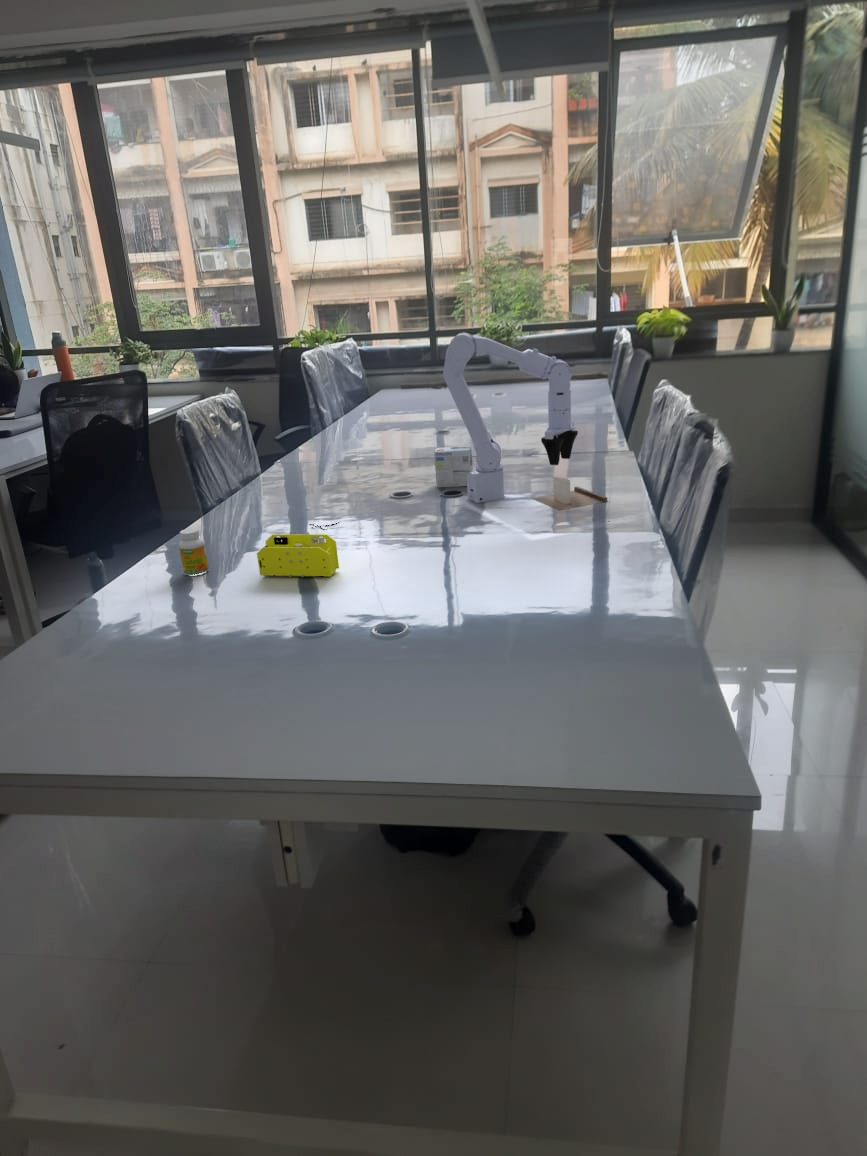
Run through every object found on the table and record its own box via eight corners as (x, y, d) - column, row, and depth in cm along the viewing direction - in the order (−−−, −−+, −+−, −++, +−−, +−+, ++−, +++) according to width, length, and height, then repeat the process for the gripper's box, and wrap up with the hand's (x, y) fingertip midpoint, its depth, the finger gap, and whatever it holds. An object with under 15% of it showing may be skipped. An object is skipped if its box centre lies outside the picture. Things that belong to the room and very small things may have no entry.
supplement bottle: (184, 578, 171) (175, 535, 168) (184, 571, 176) (176, 529, 172) (209, 574, 172) (201, 532, 169) (209, 567, 177) (201, 525, 174)
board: (559, 514, 196) (559, 506, 195) (531, 502, 208) (531, 494, 207) (607, 505, 201) (607, 497, 200) (577, 494, 213) (577, 486, 212)
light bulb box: (473, 480, 236) (471, 445, 232) (472, 486, 230) (470, 449, 226) (438, 482, 237) (435, 446, 234) (436, 488, 231) (433, 451, 227)
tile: (565, 504, 200) (565, 480, 198) (553, 499, 206) (553, 476, 204) (571, 503, 201) (570, 479, 199) (558, 498, 206) (558, 475, 204)
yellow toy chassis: (340, 571, 169) (335, 533, 166) (331, 580, 164) (326, 542, 161) (271, 570, 173) (265, 533, 170) (260, 579, 168) (254, 541, 165)
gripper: (563, 414, 195) (563, 468, 199) (584, 405, 206) (584, 456, 211) (536, 413, 198) (537, 466, 203) (559, 404, 210) (560, 455, 214)
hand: (560, 461), depth 207 cm, fingers open, 7 cm apart
